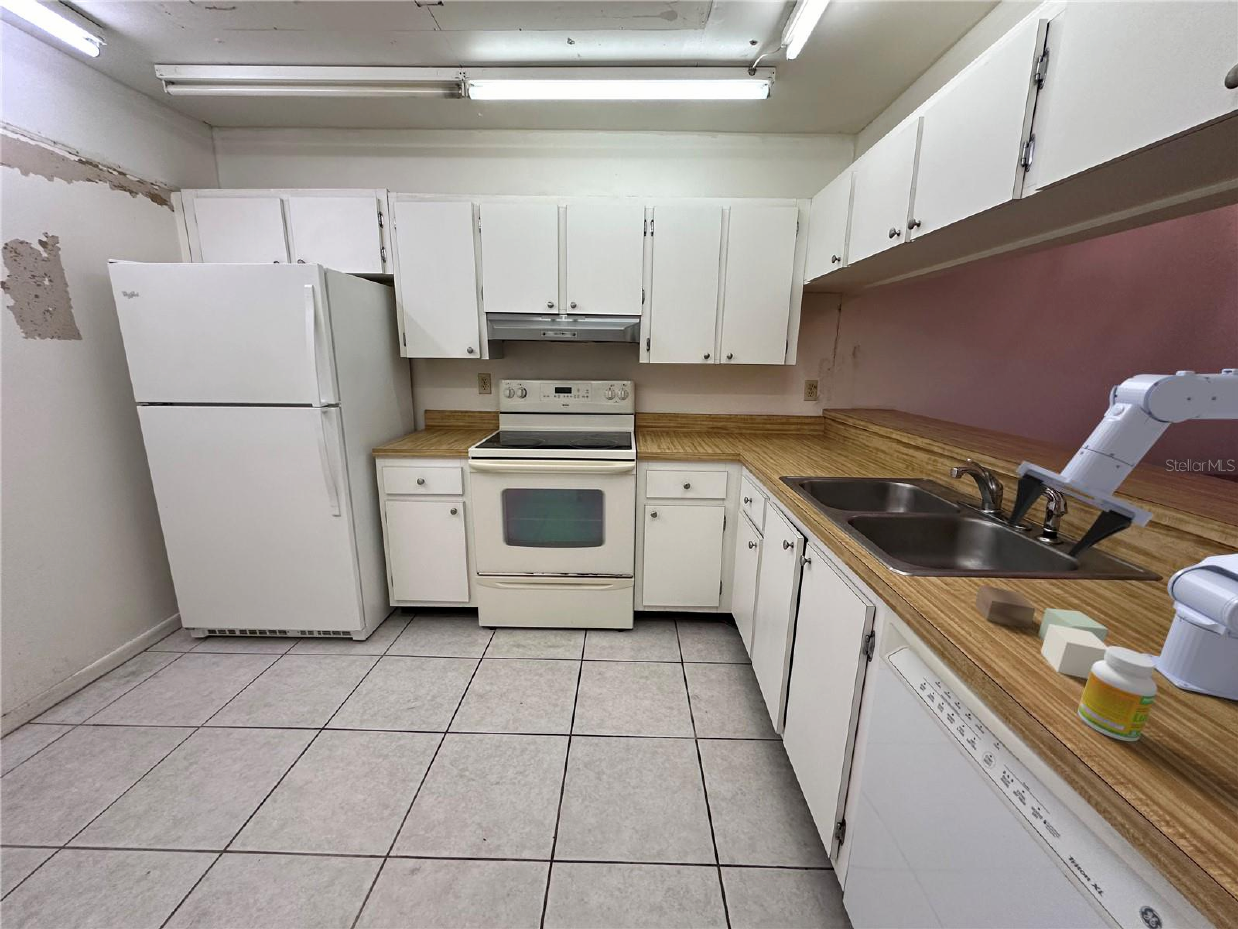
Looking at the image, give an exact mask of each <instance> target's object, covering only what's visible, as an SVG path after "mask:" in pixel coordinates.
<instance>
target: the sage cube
mask: <svg viewBox="0 0 1238 929" xmlns="http://www.w3.org/2000/svg"><path fill="white" fill-rule="evenodd" d="M1049 624H1053V625H1058V626H1063V627H1068V628H1073V629H1079V630H1084V631H1089V632H1092V633H1093V634H1094V635H1095V636H1096V637H1097V638H1098V639H1099V640H1100V641H1102V642H1103V643H1104V644H1105V640H1106V636H1107V633H1108V631H1109V628H1107V627H1105V625H1103V624H1101V623H1099V622H1097V621H1096V620H1094V619H1093V618H1091V617H1090V616H1088V615H1086V614H1084V613H1083V612H1081V611H1080V610H1079V611H1078V610H1069V609H1068V610H1067V609H1059V608H1045V610H1044V614H1043V617H1042V621H1041V624H1040V628H1039V632H1038V635H1037V636H1038V637H1040V638H1041V639H1043V641H1044V640H1045V636H1046V633H1047V630H1048V626H1049Z"/></svg>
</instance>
